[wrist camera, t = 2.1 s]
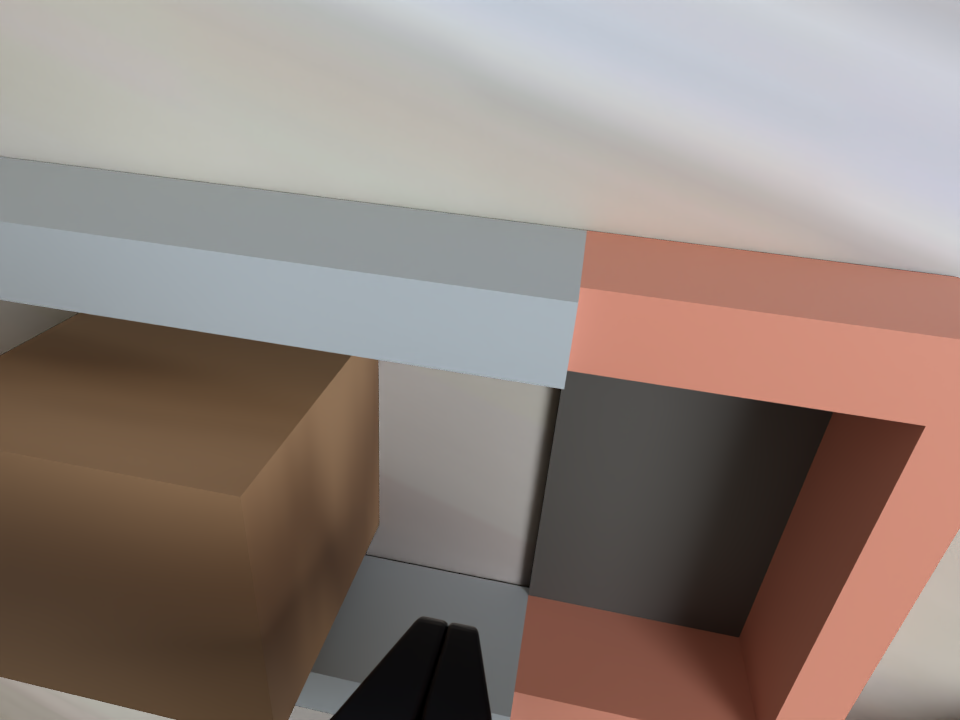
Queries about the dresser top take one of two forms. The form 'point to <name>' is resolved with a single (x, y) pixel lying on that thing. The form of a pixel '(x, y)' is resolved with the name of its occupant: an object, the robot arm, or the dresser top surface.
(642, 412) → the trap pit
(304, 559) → the walnut block
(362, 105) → the dresser top surface
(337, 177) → the dresser top surface
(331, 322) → the channel
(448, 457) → the dresser top surface
